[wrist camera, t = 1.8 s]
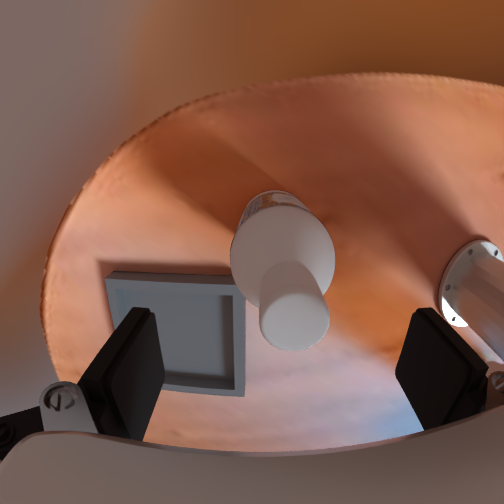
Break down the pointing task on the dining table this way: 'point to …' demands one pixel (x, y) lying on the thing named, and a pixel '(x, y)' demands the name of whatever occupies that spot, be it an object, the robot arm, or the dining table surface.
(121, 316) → the blue-gray tray
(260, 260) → the bath foam
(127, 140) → the dining table surface
